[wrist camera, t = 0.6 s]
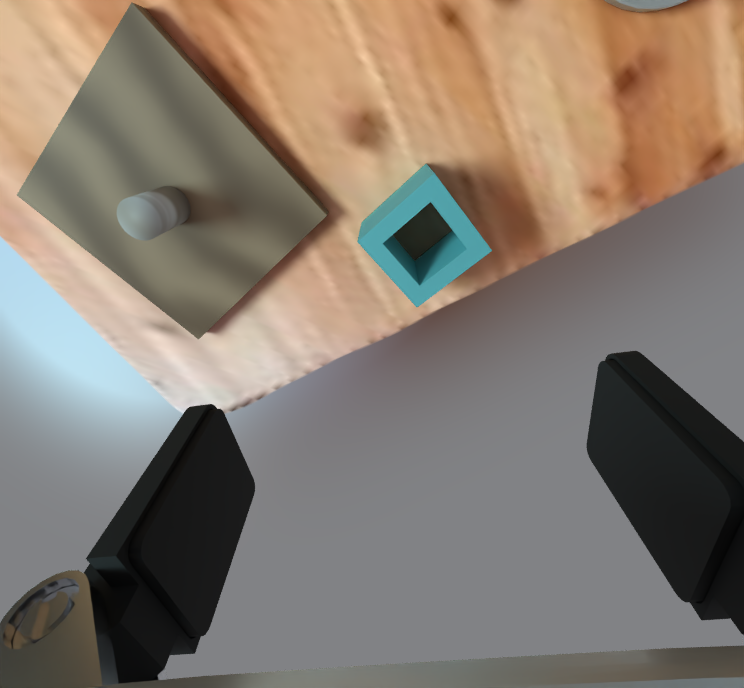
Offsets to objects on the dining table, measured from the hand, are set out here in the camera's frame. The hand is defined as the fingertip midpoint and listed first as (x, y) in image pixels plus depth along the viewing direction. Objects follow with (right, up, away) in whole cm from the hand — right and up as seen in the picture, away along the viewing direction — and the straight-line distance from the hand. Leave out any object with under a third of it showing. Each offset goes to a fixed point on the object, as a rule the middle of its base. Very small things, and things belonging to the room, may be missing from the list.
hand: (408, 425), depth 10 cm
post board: (-17, +14, +23) cm, 32 cm away
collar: (+3, +12, +24) cm, 27 cm away
